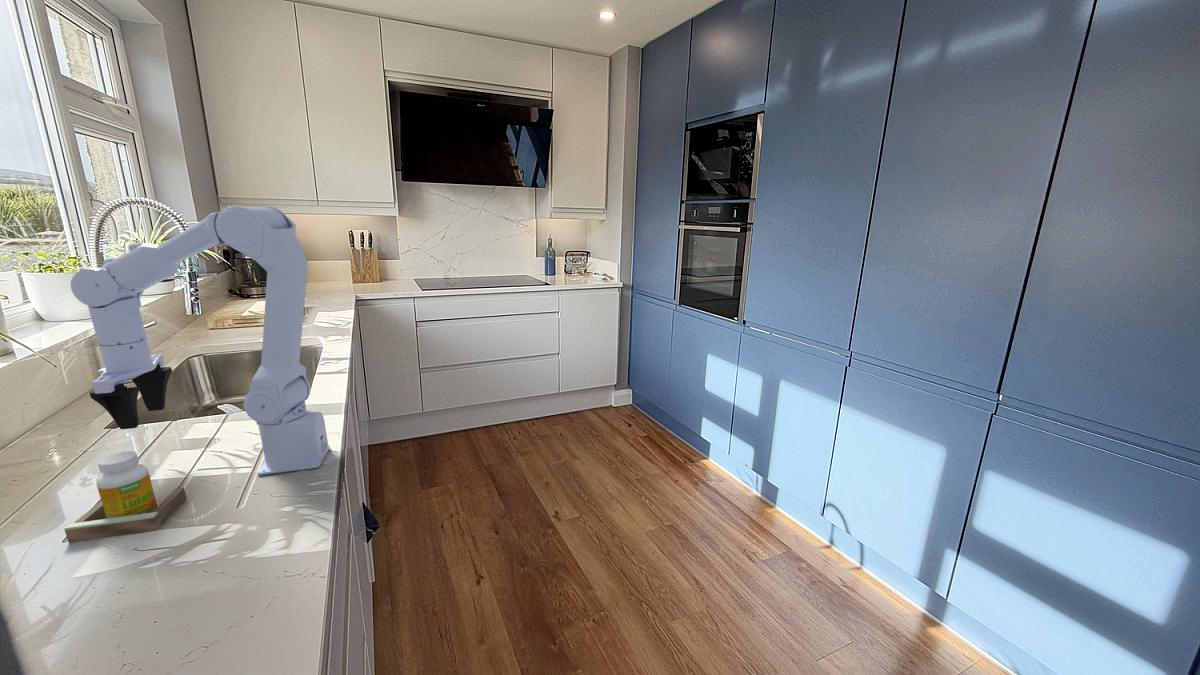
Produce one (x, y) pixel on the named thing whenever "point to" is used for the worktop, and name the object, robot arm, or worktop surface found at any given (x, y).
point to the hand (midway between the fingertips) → (143, 418)
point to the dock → (122, 520)
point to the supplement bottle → (125, 486)
